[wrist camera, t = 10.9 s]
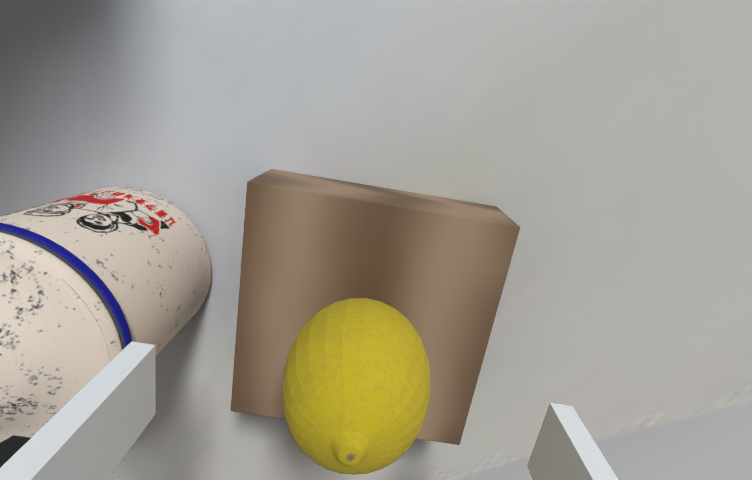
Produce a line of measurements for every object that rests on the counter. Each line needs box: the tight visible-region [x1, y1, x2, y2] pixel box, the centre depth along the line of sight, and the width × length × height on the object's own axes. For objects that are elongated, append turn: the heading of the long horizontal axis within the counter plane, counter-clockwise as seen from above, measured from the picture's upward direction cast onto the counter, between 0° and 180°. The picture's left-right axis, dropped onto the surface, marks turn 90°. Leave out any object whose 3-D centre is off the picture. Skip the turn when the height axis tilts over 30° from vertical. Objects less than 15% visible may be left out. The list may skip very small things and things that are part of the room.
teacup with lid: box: [0, 186, 211, 443], centre depth 18 cm, size 12×9×12 cm
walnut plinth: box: [231, 169, 520, 445], centre depth 22 cm, size 12×12×4 cm
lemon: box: [283, 298, 431, 475], centre depth 16 cm, size 6×6×8 cm
